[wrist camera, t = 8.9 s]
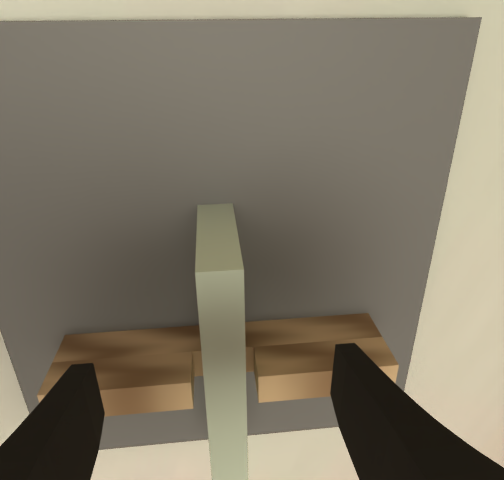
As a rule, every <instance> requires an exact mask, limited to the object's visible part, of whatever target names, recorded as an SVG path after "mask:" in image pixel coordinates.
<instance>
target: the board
mask: <svg viewBox="0 0 504 480" xmlns="http://www.w3.org/2000/svg"><path fill="white" fill-rule="evenodd" d="M481 19H482V17H472V18H350V19H228V20H106V21H0V331H1V334H2V336H3V339H4V342H5V345H6V348H7V351H8V354H9V356H10V359H11V362H12V365H13V368H14V371H15V374H16V376H17V379H18V382H19V385H20V388H21V391H22V393H23V396H24V399H25V402H26V405H27V408H28V411H29V413H31V412H32V411H33V410H34V408H35V407H36V406H37V405H38V404H39V400H38V397H37V394H38V392H39V390H40V388H41V386H42V384H43V381H44V379H45V377H46V375H47V373H48V371H49V368H50V366H51V364H52V362H53V360H54V358H55V355H56V353H57V351H58V349H59V347H60V345H61V342H62V340H63V338H64V336H65V335H72V334H85V333H99V332H113V331H127V330H141V329H154V328H168V327H182V326H196V325H199V316H198V304H197V291H196V279H195V259H196V232H197V206H198V205H208V204H230V203H233V208H234V214H235V220H236V226H237V232H238V238H239V243H240V249H241V255H242V261H243V267H244V298H245V322H251V321H265V320H279V319H293V318H306V317H320V316H334V315H348V314H362V313H369V315H370V317H371V319H372V320H373V322H374V324H375V325H376V327H377V329H378V330H379V332H380V334H381V336H382V337H383V339H384V341H385V342H386V344H387V346H388V347H389V349H390V351H391V352H392V354H393V356H394V358H395V359H396V361H397V363H398V364H399V367H398V372H397V378H396V383H395V384H396V385H398V386H399V387H400V388H401V389H402V390H403V391H404V388H405V384H406V379H407V374H408V369H409V364H410V360H411V355H412V350H413V345H414V340H415V336H416V331H417V326H418V321H419V316H420V312H421V307H422V302H423V297H424V292H425V288H426V283H427V278H428V273H429V268H430V264H431V259H432V254H433V249H434V244H435V240H436V235H437V230H438V225H439V220H440V216H441V211H442V206H443V201H444V196H445V192H446V187H447V182H448V177H449V172H450V167H451V163H452V158H453V153H454V148H455V143H456V139H457V134H458V129H459V124H460V119H461V115H462V110H463V105H464V100H465V95H466V91H467V86H468V81H469V76H470V71H471V67H472V62H473V57H474V52H475V47H476V43H477V38H478V33H479V28H480V23H481ZM246 395H247V436H248V435H258V434H269V433H279V432H289V431H300V430H310V429H320V428H331V427H339V426H338V422H337V418H336V414H335V411H334V407H333V403H332V399H331V396H329V397H318V398H307V399H295V400H284V401H273V402H262V403H259V402H258V395H257V389H256V382H255V375H254V372H246ZM207 439H209V438H208V426H207V414H206V402H205V389H204V377H203V376H194V403H193V409H184V410H173V411H162V412H151V413H140V414H128V415H117V416H106V417H104V422H103V428H102V435H101V440H100V446H99V450H103V449H113V448H124V447H134V446H144V445H155V444H165V443H175V442H186V441H196V440H207Z"/></svg>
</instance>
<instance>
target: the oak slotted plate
mask: <svg viewBox="0 0 504 480" xmlns="http://www.w3.org/2000/svg"><path fill="white" fill-rule="evenodd" d="M345 343H356V344H357V345H358V346H359V347H360V348H361V349H362V350H363V351H364V352H365V353H366V355H367V356H368V357H369V358H370V359H371V360H372V361H373V362H374V363H375V364H376V365H377V366H378V367H379V368H380V369H381V370H382V371H383V372H384V373H385V374H386V375H387V376H388V377H389V378H390V379H391V380H392V381H393V382H394V383H396V378H397V372H398V367H399V364H398V363H397V361H396V359H395V358H394V356H393V354H392V352H391V351H390V349H389V347H388V346H387V344H386V342H385V341H384V339H383V337H382V336H381V334H380V332H379V330H378V329H377V327H376V325H375V324H374V322H373V320H372V319H371V317H370V315H369V313H362V314H348V315H334V316H320V317H306V318H293V319H279V320H265V321H251V322H245V346H246V372H254V375H255V382H256V389H257V395H258V402H259V403H262V402H273V401H284V400H295V399H307V398H318V397H329V396H331V395H330V390H331V381H332V371H333V362H334V352H335V344H345ZM84 363H93V364H94V368H95V372H96V377H97V381H98V385H99V390H100V394H101V398H102V403H103V407H104V411H105V416H104V417H106V416H117V415H128V414H140V413H151V412H162V411H173V410H184V409H193V403H194V376H203V365H202V353H201V340H200V328H199V325H196V326H182V327H168V328H154V329H141V330H127V331H113V332H99V333H85V334H72V335H65V336H64V338H63V340H62V342H61V345H60V347H59V349H58V351H57V353H56V355H55V358H54V360H53V362H52V364H51V366H50V368H49V371H48V373H47V375H46V377H45V379H44V381H43V384H42V386H41V388H40V390H39V392H38V394H37V397H38V400H39V403H40V402H41V400H42V399H43V398H44V397H45V396H46V394H47V393H48V392H49V391H50V390H51V388H52V387H53V386H54V385H55V383H56V382H57V381H58V380H59V379H60V377H61V376H62V375H63V374H64V373H65V371H66V370H67V369H68V368H69V367H70V366H71V365H72V364H84Z"/></svg>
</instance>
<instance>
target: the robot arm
mask: <svg viewBox="0 0 504 480" xmlns="http://www.w3.org/2000/svg"><path fill="white" fill-rule="evenodd" d="M330 395H331V399H332V403H333V407H334V411H335V414H336V418H337V422H338V426H339V428H340V431H341V434H342V436H343V439H344V441H345V444H346V447H347V449H348V452H349V454H350V457H351V459H352V462H353V465H354V467H355V470H356V472H357V475H358V477H359V480H504V468H503V467H502V466H500V465H499V464H497V463H496V462H494V461H493V460H491V459H489V458H488V457H486V456H485V455H483V454H482V453H480V452H479V451H477V450H476V449H474V448H473V447H472V446H470V445H469V444H467V443H466V442H465V441H463V440H462V439H461V438H459V437H458V436H457V435H455V434H454V433H453V432H451V431H450V430H448V429H447V428H446V427H444V426H443V425H442V424H441V423H439V422H438V421H437V420H436V419H434V418H433V417H432V416H431V415H430V414H429V413H427V412H426V411H425V410H424V409H423V408H422V407H420V406H419V405H418V404H417V403H416V402H415V401H414V400H413V399H411V398H410V397H409V396H408V395H407V394H406V393H405V392H404V391H403V390H402V389H401V388H400V387H399V386H398V385H396V384H395V383H394V382H393V381H392V380H391V379H390V378H389V377H388V376H387V375H386V374H385V373H384V372H383V371H382V370H381V369H380V368H379V367H378V366H377V365H376V364H375V363H374V362H373V361H372V360H371V359H370V358H369V357H368V356H367V355H366V353H365V352H364V351H363V350H362V349H361V348H360V347H359V346H358V345H357V344H356V343H345V344H335V352H334V362H333V371H332V381H331V390H330ZM104 416H105V411H104V407H103V403H102V398H101V394H100V390H99V385H98V381H97V377H96V372H95V368H94V364H93V363H84V364H72V365H71V366H70V367H69V368H68V369H67V370H66V371H65V373H64V374H63V375H62V376H61V377H60V379H59V380H58V381H57V382H56V383H55V385H54V386H53V387H52V388H51V390H50V391H49V392H48V393H47V394H46V396H45V397H44V398H43V399H42V400H41V402H40V403H39V404H38V405H37V406H36V407H35V408H34V410H33V411H32V412H31V413H30V414H29V415H28V417H27V418H26V419H25V420H24V421H23V422H22V423H21V425H20V426H19V427H18V428H17V429H16V430H15V431H14V432H13V433H12V434H11V435H10V436H9V438H8V439H7V440H6V441H5V442H4V443H3V444H2V445H1V446H0V480H90V479H91V475H92V472H93V468H94V465H95V461H96V458H97V454H98V450H99V446H100V440H101V435H102V428H103V422H104Z"/></svg>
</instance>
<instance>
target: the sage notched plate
mask: <svg viewBox="0 0 504 480" xmlns="http://www.w3.org/2000/svg"><path fill="white" fill-rule="evenodd" d="M195 279H196V291H197V304H198V316H199V328H200V340H201V353H202V365H203V377H204V389H205V402H206V414H207V426H208V438H209V451H210V463H211V475H212V480H248V443H247V395H246V346H245V298H244V267H243V261H242V255H241V249H240V243H239V238H238V232H237V226H236V220H235V214H234V208H233V203H230V204H208V205H198V206H197V232H196V259H195Z"/></svg>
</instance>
